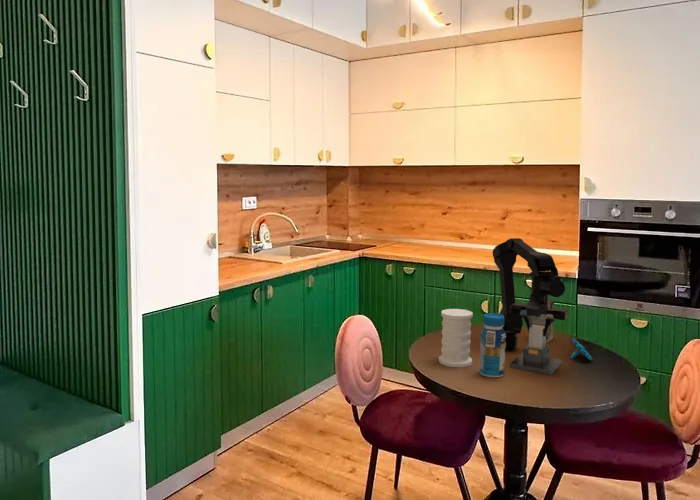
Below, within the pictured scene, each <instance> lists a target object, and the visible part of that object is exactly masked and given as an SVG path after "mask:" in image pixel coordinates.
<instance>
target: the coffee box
mask: <svg viewBox="0 0 700 500" xmlns="http://www.w3.org/2000/svg"><path fill="white" fill-rule="evenodd" d="M548 309H549V310H555V300H554V299H549V298H548ZM547 317H548V316H547V315H545V314H541V316H540V317H535V316H532V325H539V326H545V319H546V318H547ZM553 335H554V321H553V322H552V324H551V326H550V328H549V330H548V332H547V334H546V344H548V343H549V342H550V341H552V340H553Z"/></svg>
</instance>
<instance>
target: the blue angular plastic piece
mask: <svg viewBox="0 0 700 500" xmlns="http://www.w3.org/2000/svg"><path fill="white" fill-rule="evenodd" d="M571 341H572V342H573V344H575V346H576V349H575V351H574V352H573V353H572V354H571V356H570V358H571V360H572V359H574V358H575V357H577V356H578V355H581V354H583V355H585V357H586V358H587V359H588V360H590V361H592V360H594V358H592V356H591V355H590V353H589V352H588V351H587V350H586V348H585V346H583V345H582V344H581V343H580V342H579V341H577V340H576V338H574V337H572V338H571Z"/></svg>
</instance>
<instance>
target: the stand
mask: <svg viewBox="0 0 700 500" xmlns="http://www.w3.org/2000/svg"><path fill="white" fill-rule="evenodd" d="M528 345H529V343H528V344H527V345H525V346H524V347H523V350H522V351H523V352H521V354H519V355H518V356H517V357H516V358H515V359H513V360H512V361H511V362H510V363H509V368H511V369H517V370H521V371H527V372H532V373H539V374H542V375H543V374H544V375H549V376H552V375H553V374H554V373H555V372H556V371H557V369H558V368H560V366H561V365H562V359H560V358H559V359H558V358H555V357H554V358H553V357H550V355H551V353H550V352H551V346H547V345H545V346H546V348H545V349H544V350H543V351H541V350H535V349H529V348H528Z"/></svg>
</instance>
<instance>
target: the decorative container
mask: <svg viewBox="0 0 700 500" xmlns="http://www.w3.org/2000/svg"><path fill="white" fill-rule="evenodd" d="M440 314H441V317H442V321H441V325H442V328H441V329H442V330H441V335H442V338H441V349H440V351H441V355H439V356H438V363H439V364H441V365H442V366H445V367H450V368H468V367H470V366H471V365H472V364H473V359H472V357H470V354H471V348H470V347H471V343H472V342H471V335H472V331H471V328H472V321H471V320H472V318H474V317H473V316H474V315H473V314H474V313H473V312H472V311H470V310H468V309H463V308H446V309H443V310H441V313H440Z"/></svg>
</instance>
